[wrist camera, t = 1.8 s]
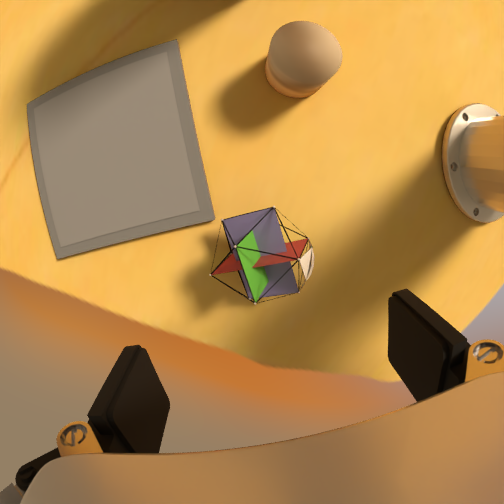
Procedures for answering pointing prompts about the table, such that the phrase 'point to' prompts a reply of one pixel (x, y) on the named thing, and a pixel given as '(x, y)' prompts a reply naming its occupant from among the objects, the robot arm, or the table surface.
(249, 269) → the geometric puzzle
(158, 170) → the felt mat
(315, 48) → the tan rounded cylinder
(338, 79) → the table surface
